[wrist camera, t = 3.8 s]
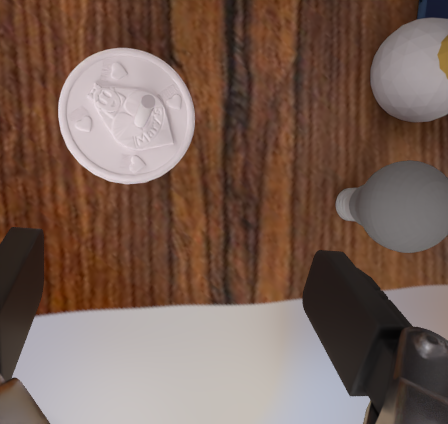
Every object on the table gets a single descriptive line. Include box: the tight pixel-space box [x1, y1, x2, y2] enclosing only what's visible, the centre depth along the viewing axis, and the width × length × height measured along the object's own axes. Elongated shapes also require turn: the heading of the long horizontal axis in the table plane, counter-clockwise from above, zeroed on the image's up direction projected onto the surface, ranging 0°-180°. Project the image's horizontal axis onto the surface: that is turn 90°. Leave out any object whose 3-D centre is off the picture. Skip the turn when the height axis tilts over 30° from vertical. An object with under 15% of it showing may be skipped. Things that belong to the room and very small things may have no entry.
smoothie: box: [58, 48, 195, 184], centre depth 22 cm, size 6×6×14 cm
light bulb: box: [336, 161, 448, 253], centre depth 29 cm, size 6×6×10 cm
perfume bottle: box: [370, 18, 448, 122], centre depth 28 cm, size 8×10×12 cm
